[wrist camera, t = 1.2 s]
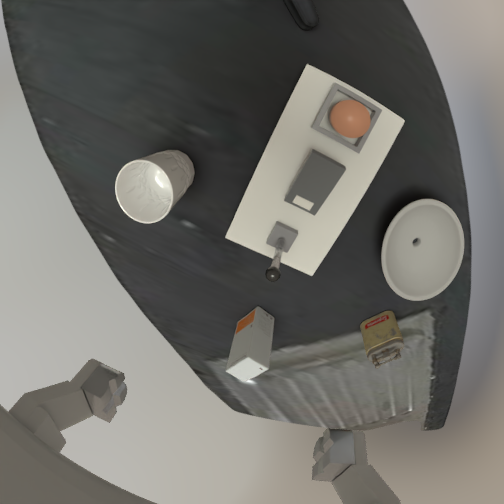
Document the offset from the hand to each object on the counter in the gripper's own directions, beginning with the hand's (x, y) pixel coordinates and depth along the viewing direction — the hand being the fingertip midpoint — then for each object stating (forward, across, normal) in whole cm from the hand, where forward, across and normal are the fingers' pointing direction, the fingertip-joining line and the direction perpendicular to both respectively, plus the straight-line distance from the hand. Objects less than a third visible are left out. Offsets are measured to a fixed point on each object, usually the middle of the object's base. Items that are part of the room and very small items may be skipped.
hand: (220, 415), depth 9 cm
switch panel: (+33, -3, -6) cm, 34 cm away
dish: (+35, -22, -1) cm, 42 cm away
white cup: (+32, +17, -3) cm, 36 cm away
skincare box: (+37, 0, +21) cm, 43 cm away
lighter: (+38, -22, +17) cm, 47 cm away
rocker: (+28, -3, -6) cm, 29 cm away
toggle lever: (+30, -1, +3) cm, 30 cm away
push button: (+28, -5, -15) cm, 32 cm away
